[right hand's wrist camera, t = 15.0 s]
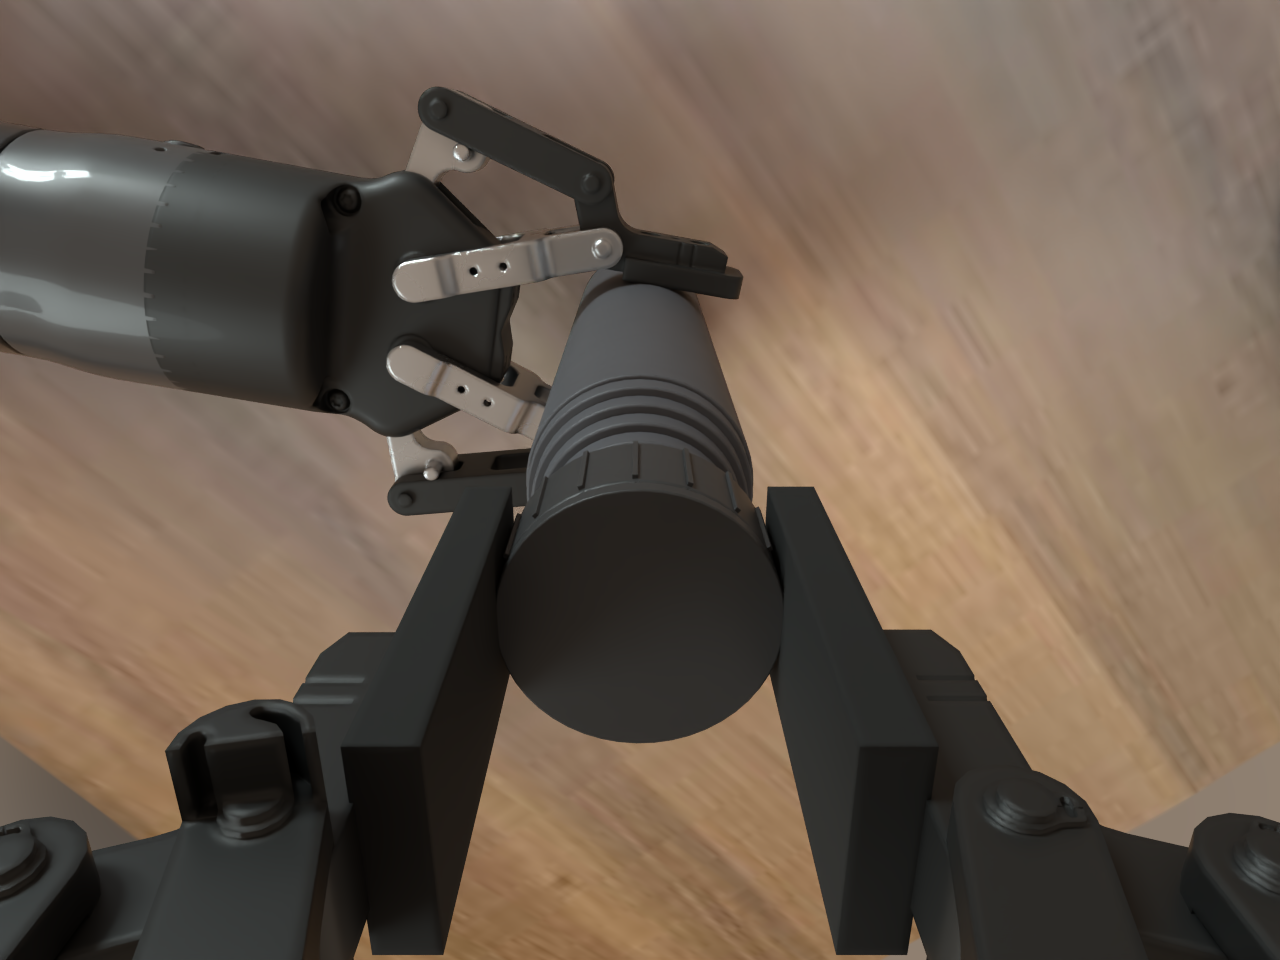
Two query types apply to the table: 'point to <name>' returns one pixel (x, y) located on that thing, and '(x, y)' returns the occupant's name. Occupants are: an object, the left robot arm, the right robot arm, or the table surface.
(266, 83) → the table surface
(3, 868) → the right robot arm
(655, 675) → the cap
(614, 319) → the bottle
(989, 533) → the table surface
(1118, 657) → the table surface
